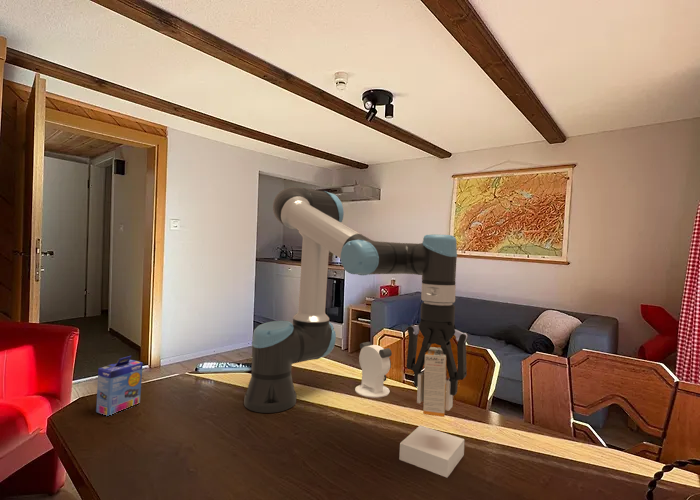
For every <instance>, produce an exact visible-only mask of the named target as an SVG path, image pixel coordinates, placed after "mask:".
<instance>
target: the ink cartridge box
mask: <svg viewBox="0 0 700 500" xmlns="http://www.w3.org/2000/svg"><path fill="white" fill-rule="evenodd" d="M131 357H132V355H129V356H125V357H120V358H118V360H117V362H116V363H111V364H108V365H104V366H102V367H98V369H97V385H96V386H97V387H96V388H97V389H96V406H95V407H96V408H95V412H96V413H98V414H100V415H102V414H103V415H102V416H104V415H106V416H105V417H107V416H109V415H111V416H113V415H112V414H114V413H116V412H118V411H121V410H123V409H126V408H128V407H130V406H133V405H135V404H138V403H140V404H141V396H142V395H141V392H142V379H143V378H142V377H143V362H141V361H138V360H135V359H131ZM126 410H127V409H126ZM121 412H122V411H121ZM116 414H117V413H116ZM114 415H115V414H114ZM109 417H110V416H109Z"/></svg>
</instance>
